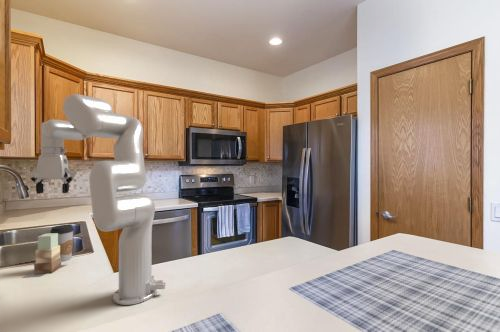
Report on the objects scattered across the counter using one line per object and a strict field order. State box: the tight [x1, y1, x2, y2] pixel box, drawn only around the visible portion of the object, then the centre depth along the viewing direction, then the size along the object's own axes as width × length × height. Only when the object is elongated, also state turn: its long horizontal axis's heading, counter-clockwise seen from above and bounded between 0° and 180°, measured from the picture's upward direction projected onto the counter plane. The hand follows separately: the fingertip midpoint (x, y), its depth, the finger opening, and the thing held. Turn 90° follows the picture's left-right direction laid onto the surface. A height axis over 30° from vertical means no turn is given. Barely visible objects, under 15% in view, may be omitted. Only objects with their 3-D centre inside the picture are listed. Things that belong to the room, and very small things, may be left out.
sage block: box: [37, 232, 58, 250], centre depth 100 cm, size 4×4×5 cm
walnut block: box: [33, 257, 62, 275], centre depth 100 cm, size 6×6×4 cm
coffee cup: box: [49, 224, 75, 263], centre depth 112 cm, size 8×8×15 cm
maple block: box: [35, 245, 60, 264], centre depth 100 cm, size 6×6×5 cm
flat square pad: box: [21, 264, 67, 279], centre depth 100 cm, size 11×11×1 cm
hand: (52, 193), depth 107 cm, fingers open, 9 cm apart
